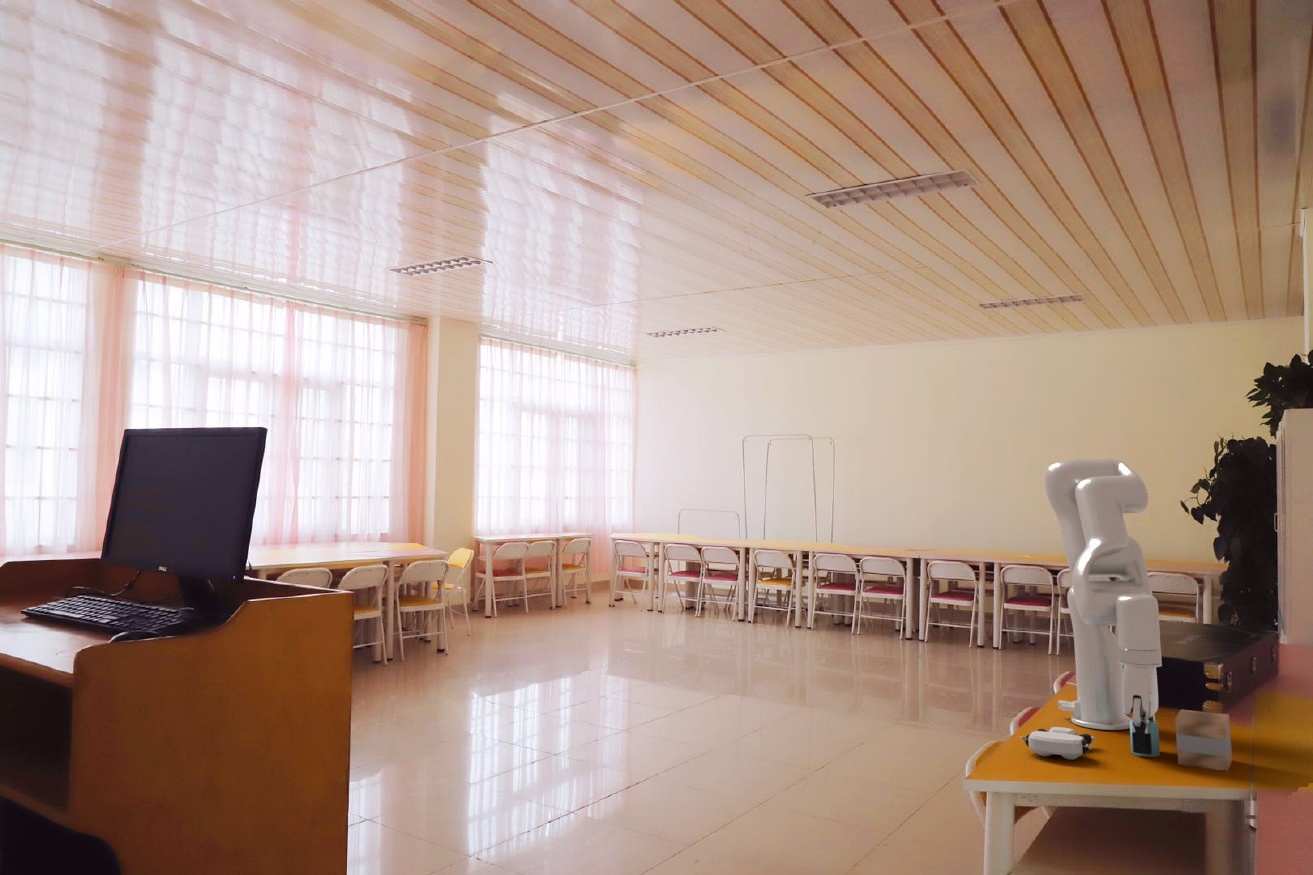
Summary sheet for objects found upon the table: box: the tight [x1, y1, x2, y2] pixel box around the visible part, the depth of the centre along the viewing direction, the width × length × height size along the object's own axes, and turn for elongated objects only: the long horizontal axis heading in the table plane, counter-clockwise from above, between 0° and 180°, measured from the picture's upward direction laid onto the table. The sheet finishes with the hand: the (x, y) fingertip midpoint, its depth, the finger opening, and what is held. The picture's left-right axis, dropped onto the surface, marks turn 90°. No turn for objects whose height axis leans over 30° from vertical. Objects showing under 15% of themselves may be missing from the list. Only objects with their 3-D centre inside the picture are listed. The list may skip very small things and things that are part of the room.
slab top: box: [1174, 709, 1231, 740], centre depth 172 cm, size 8×8×3 cm
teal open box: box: [1129, 720, 1161, 758], centre depth 178 cm, size 5×5×6 cm
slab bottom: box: [1176, 746, 1233, 772], centre depth 171 cm, size 8×8×3 cm
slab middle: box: [1175, 730, 1232, 757], centre depth 171 cm, size 8×8×3 cm
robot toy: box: [1019, 726, 1096, 761], centre depth 180 cm, size 12×4×15 cm
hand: (1145, 748), depth 178 cm, fingers closed on teal open box, 4 cm apart
